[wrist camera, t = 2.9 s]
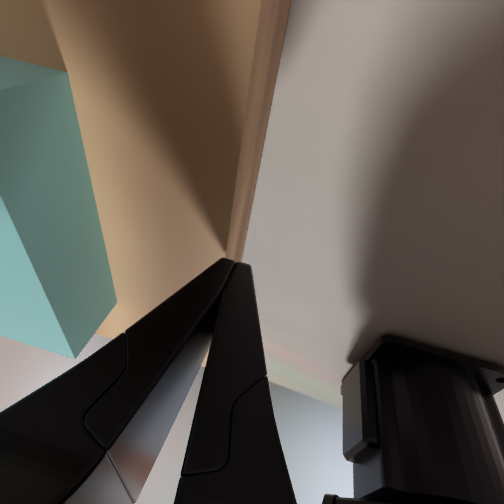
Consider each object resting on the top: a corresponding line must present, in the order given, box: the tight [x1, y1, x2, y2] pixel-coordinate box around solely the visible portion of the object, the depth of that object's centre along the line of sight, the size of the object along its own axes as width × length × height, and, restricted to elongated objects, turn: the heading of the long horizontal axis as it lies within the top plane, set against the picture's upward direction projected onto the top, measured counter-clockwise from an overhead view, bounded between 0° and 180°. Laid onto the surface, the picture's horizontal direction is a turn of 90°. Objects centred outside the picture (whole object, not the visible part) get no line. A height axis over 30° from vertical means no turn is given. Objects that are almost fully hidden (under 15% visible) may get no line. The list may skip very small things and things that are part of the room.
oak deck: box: [0, 0, 292, 367], centre depth 11 cm, size 16×14×4 cm
